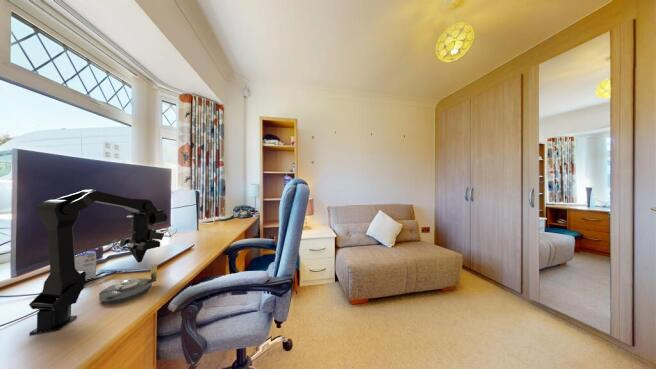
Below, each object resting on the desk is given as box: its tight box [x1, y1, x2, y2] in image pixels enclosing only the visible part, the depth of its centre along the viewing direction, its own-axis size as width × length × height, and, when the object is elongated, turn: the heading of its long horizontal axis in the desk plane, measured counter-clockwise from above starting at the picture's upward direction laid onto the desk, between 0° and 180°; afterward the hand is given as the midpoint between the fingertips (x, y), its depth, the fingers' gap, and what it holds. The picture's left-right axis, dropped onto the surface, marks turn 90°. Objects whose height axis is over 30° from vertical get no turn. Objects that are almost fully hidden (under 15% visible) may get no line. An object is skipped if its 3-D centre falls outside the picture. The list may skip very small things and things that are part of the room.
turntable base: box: [102, 288, 150, 305], centre depth 80 cm, size 13×13×1 cm
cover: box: [114, 277, 141, 292], centre depth 80 cm, size 7×7×3 cm
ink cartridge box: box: [75, 250, 97, 279], centre depth 90 cm, size 10×6×14 cm, turn 145°
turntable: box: [98, 263, 158, 302], centre depth 80 cm, size 17×15×8 cm
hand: (139, 262), depth 87 cm, fingers closed
